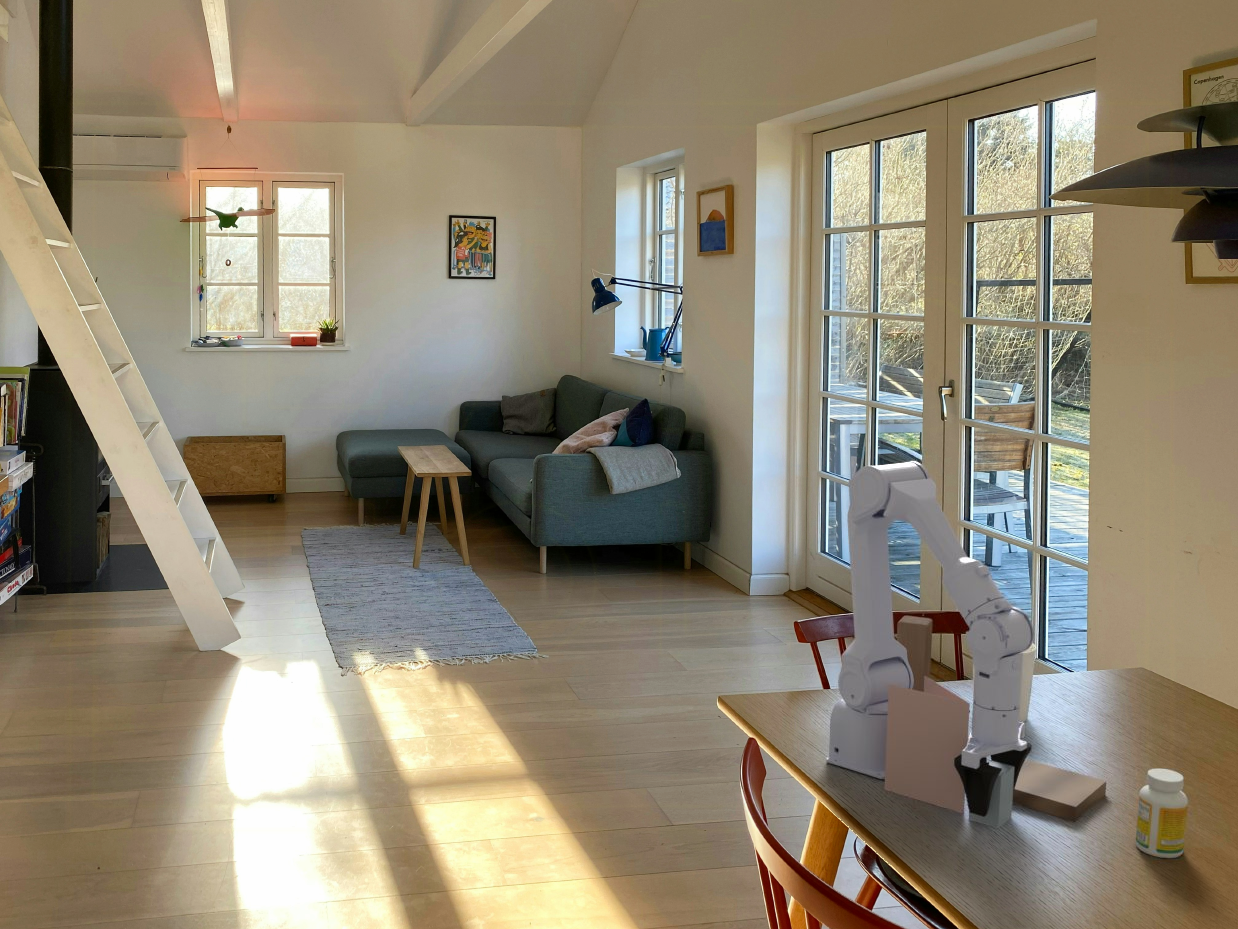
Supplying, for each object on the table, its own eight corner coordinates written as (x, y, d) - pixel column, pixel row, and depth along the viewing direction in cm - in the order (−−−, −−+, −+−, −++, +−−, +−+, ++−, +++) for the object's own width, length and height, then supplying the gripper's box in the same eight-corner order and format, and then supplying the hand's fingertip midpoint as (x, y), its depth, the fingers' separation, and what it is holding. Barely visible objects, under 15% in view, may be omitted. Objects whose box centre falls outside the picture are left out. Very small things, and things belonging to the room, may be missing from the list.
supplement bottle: (1128, 849, 142) (1134, 774, 141) (1144, 835, 146) (1149, 762, 145) (1175, 864, 138) (1181, 787, 137) (1189, 849, 142) (1195, 774, 141)
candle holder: (1024, 731, 181) (1029, 657, 179) (961, 719, 186) (965, 646, 184) (1038, 712, 189) (1042, 641, 187) (977, 701, 194) (981, 632, 192)
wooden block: (957, 735, 179) (963, 622, 176) (952, 745, 175) (957, 629, 172) (899, 725, 183) (903, 614, 180) (892, 734, 179) (897, 621, 176)
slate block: (968, 819, 150) (971, 767, 149) (982, 809, 153) (984, 758, 152) (998, 828, 148) (1001, 776, 147) (1011, 818, 150) (1014, 766, 149)
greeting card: (969, 813, 152) (975, 702, 150) (918, 819, 150) (924, 707, 148) (925, 778, 163) (930, 675, 161) (877, 783, 161) (881, 679, 159)
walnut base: (993, 797, 157) (993, 783, 156) (1026, 772, 165) (1027, 759, 165) (1074, 821, 149) (1075, 807, 149) (1105, 795, 158) (1106, 781, 157)
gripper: (1002, 726, 140) (996, 832, 142) (1049, 696, 151) (1043, 795, 153) (948, 712, 145) (943, 815, 147) (997, 684, 155) (992, 780, 157)
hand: (990, 804), depth 150 cm, fingers open, 7 cm apart
